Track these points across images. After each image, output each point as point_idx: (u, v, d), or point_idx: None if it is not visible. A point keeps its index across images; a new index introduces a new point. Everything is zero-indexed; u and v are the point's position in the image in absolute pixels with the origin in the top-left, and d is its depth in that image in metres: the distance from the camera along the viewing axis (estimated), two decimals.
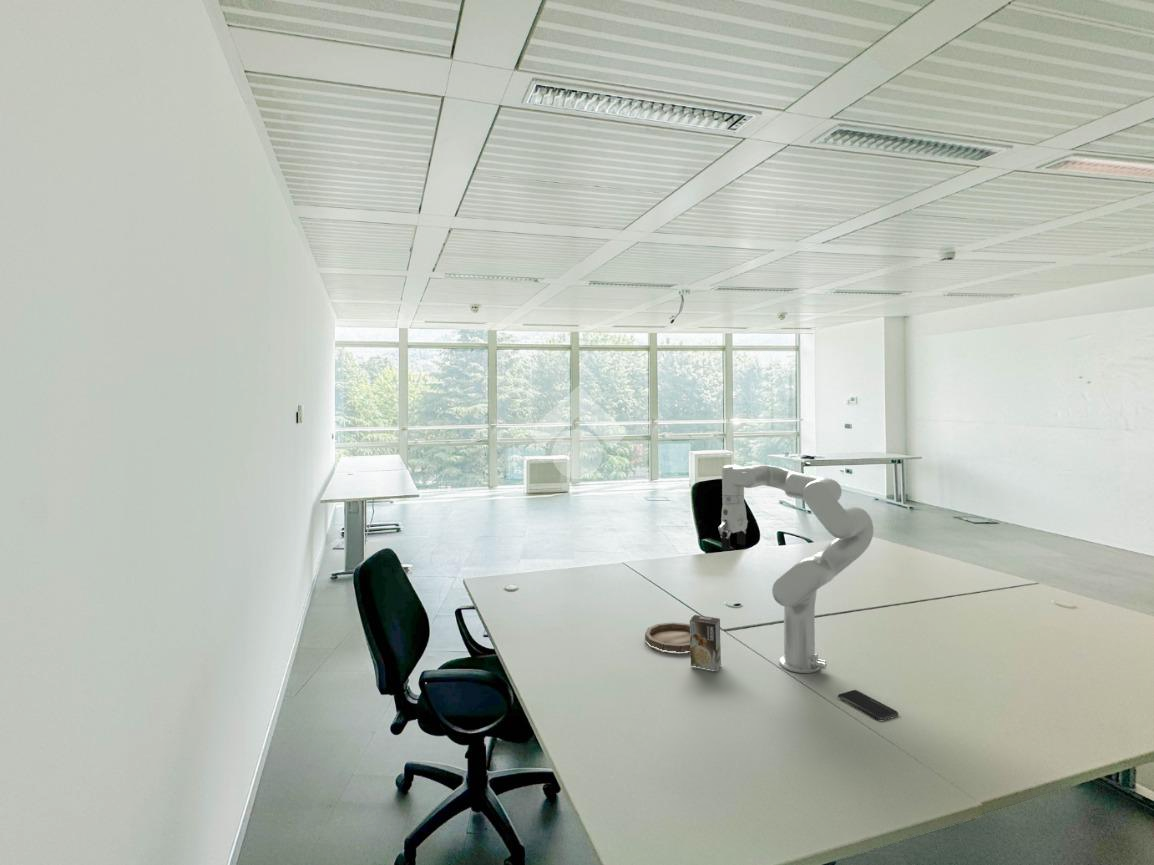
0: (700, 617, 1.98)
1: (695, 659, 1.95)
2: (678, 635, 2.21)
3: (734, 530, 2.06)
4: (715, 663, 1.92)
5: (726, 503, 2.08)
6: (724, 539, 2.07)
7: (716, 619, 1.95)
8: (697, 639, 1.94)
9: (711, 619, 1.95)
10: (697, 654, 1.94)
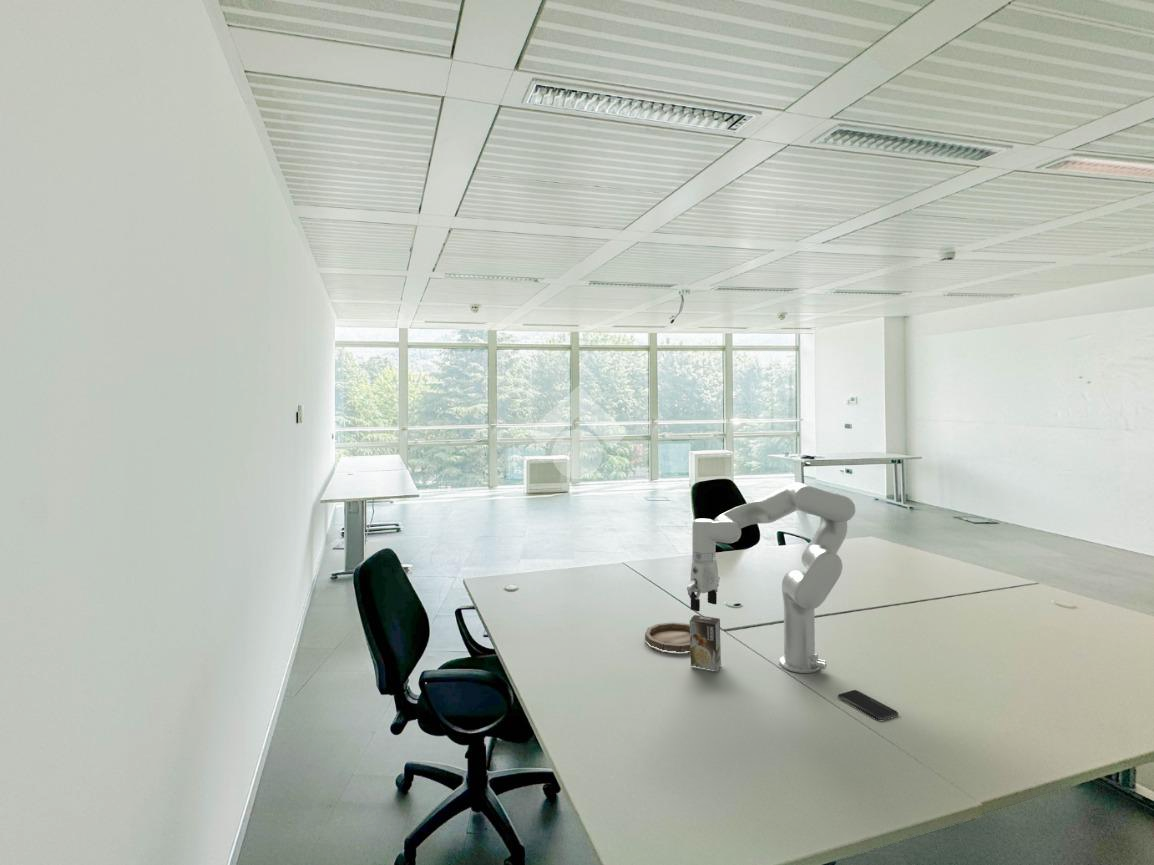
0: (700, 617, 1.98)
1: (695, 659, 1.95)
2: (678, 635, 2.21)
3: (704, 590, 1.91)
4: (715, 663, 1.92)
5: (696, 560, 1.93)
6: (693, 600, 1.91)
7: (716, 619, 1.95)
8: (697, 639, 1.94)
9: (711, 619, 1.95)
10: (697, 655, 1.94)
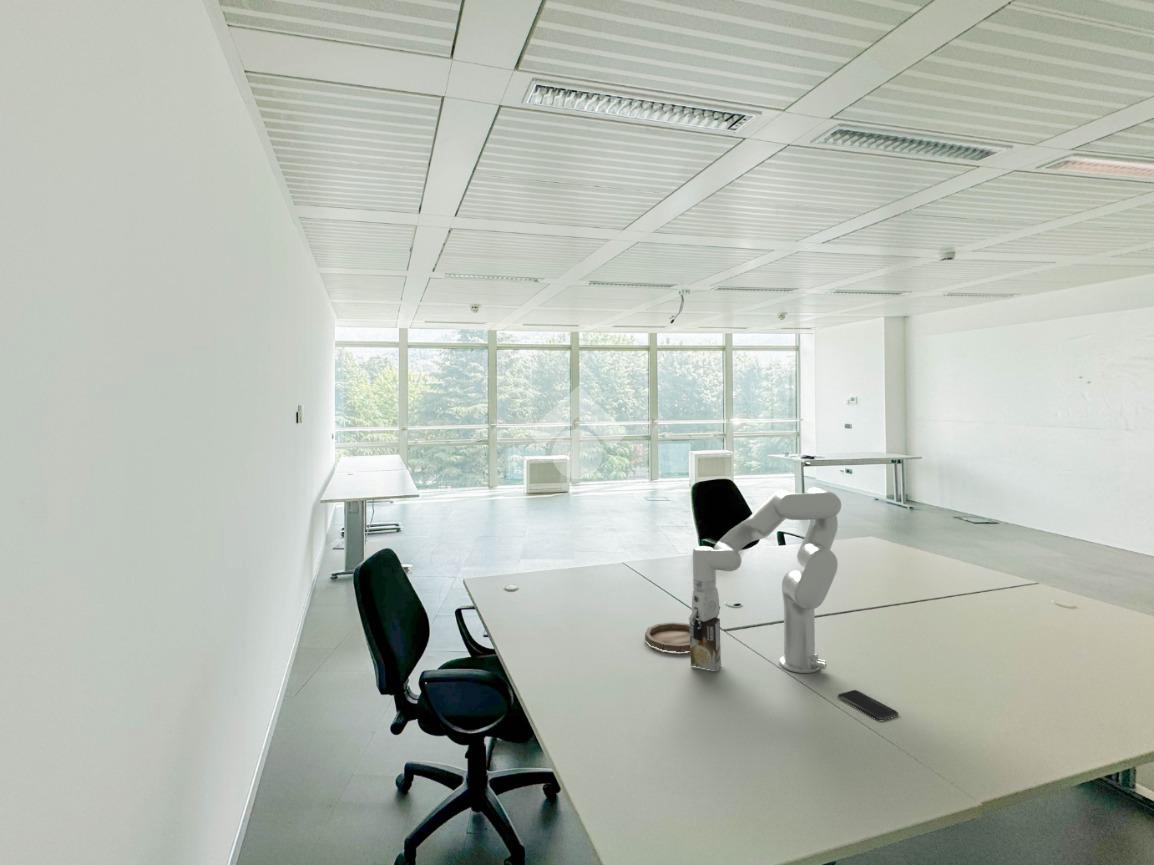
0: None
1: (695, 659, 1.95)
2: (678, 635, 2.21)
3: (705, 619, 1.91)
4: (715, 663, 1.92)
5: (697, 589, 1.93)
6: (696, 629, 1.92)
7: (716, 619, 1.95)
8: None
9: (711, 619, 1.95)
10: (697, 654, 1.94)
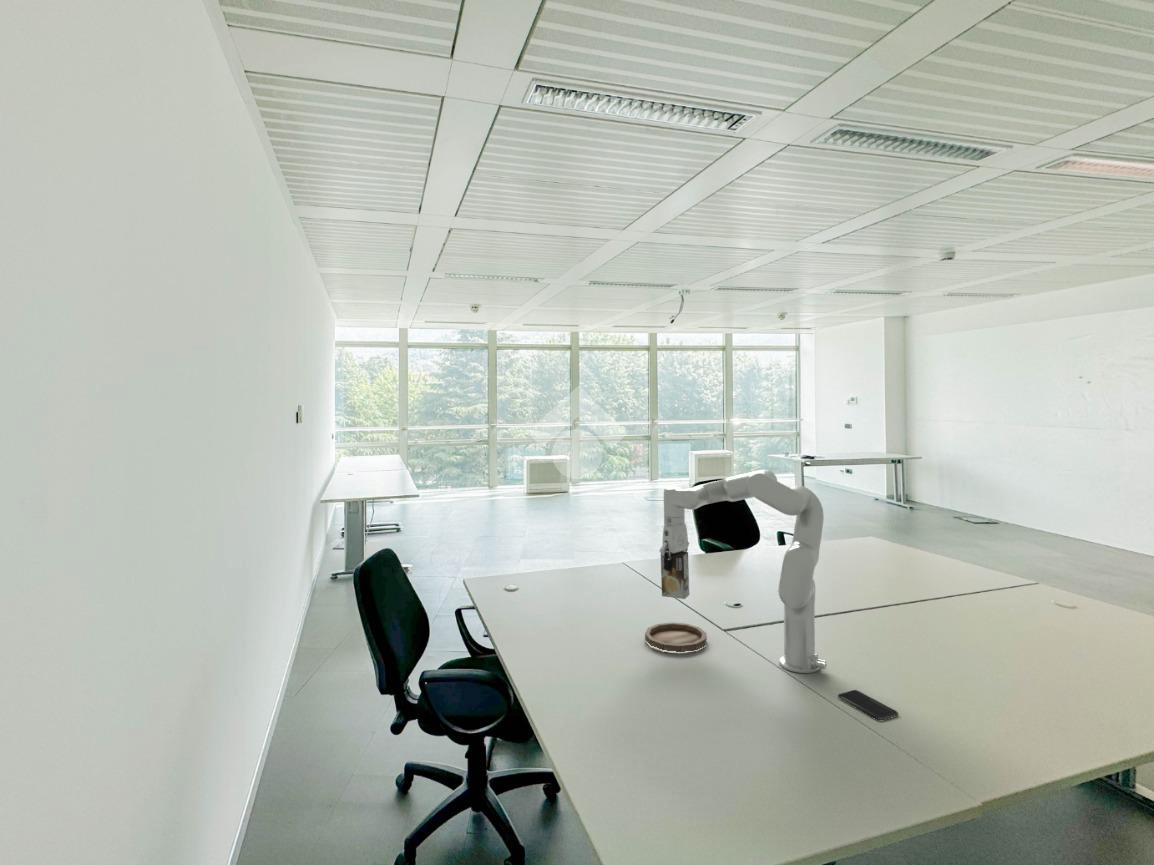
0: None
1: (666, 588, 2.15)
2: (678, 635, 2.21)
3: (674, 551, 2.11)
4: (683, 591, 2.12)
5: (667, 524, 2.13)
6: (666, 560, 2.12)
7: (684, 552, 2.16)
8: (667, 570, 2.14)
9: (680, 552, 2.16)
10: (667, 584, 2.15)
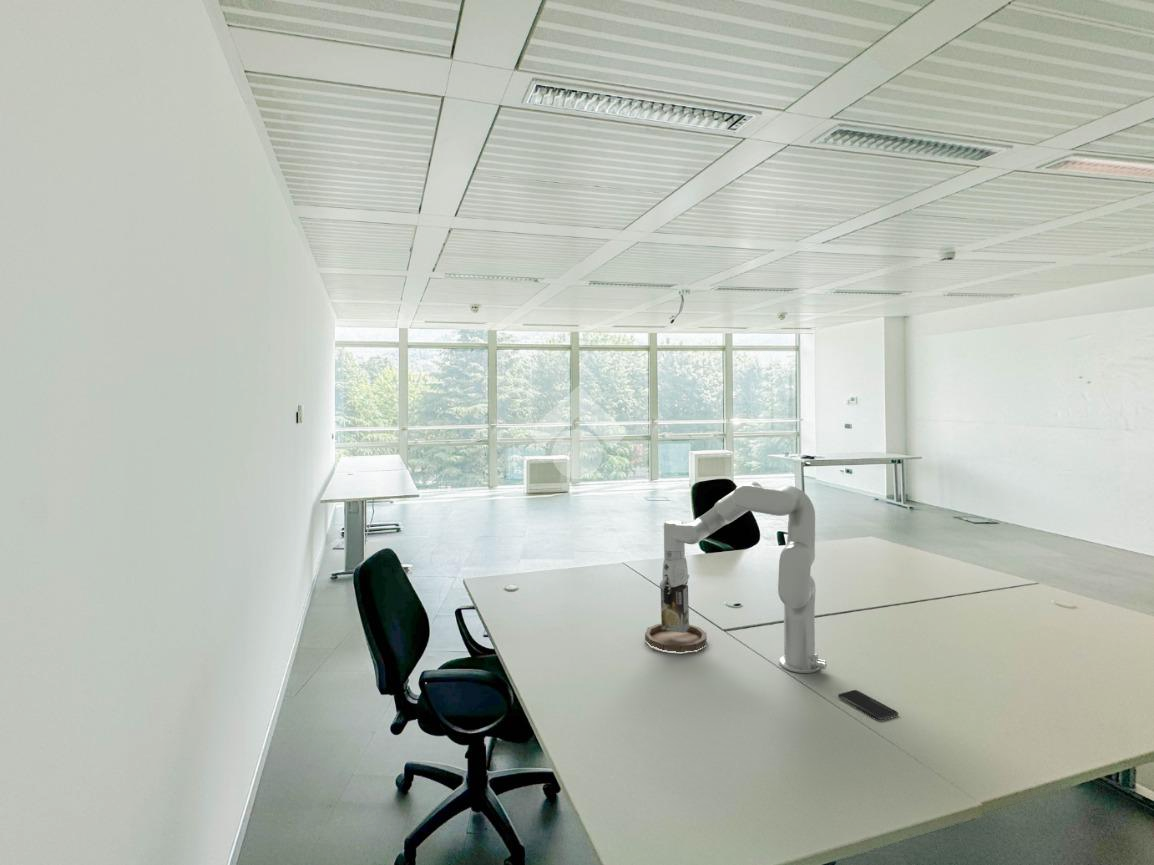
0: None
1: (666, 622, 2.16)
2: (678, 635, 2.21)
3: (674, 585, 2.12)
4: (683, 625, 2.13)
5: (667, 558, 2.14)
6: (666, 594, 2.13)
7: (684, 586, 2.17)
8: None
9: (680, 586, 2.16)
10: (667, 617, 2.16)
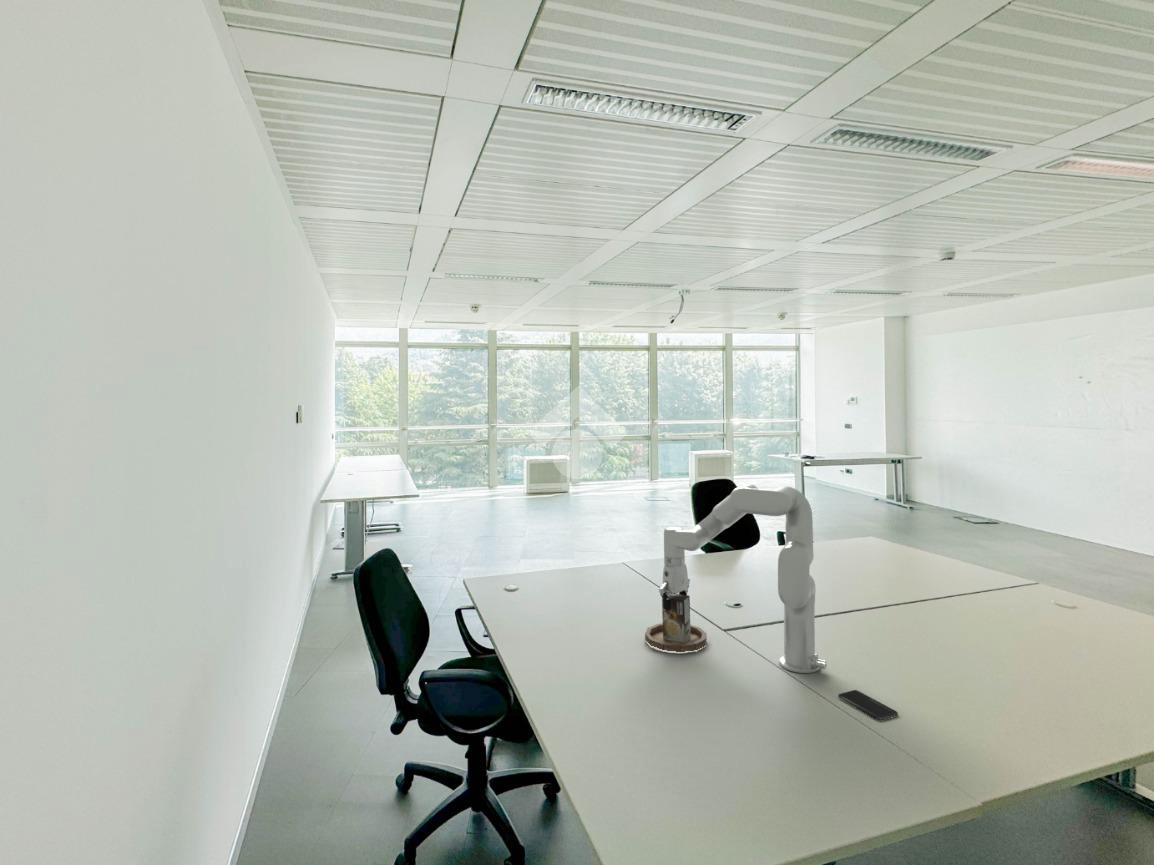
0: (672, 594, 2.19)
1: (667, 632, 2.16)
2: None
3: (674, 591, 2.12)
4: (684, 635, 2.13)
5: (667, 565, 2.14)
6: (665, 600, 2.13)
7: (686, 596, 2.17)
8: (668, 613, 2.16)
9: (681, 596, 2.17)
10: (668, 627, 2.16)
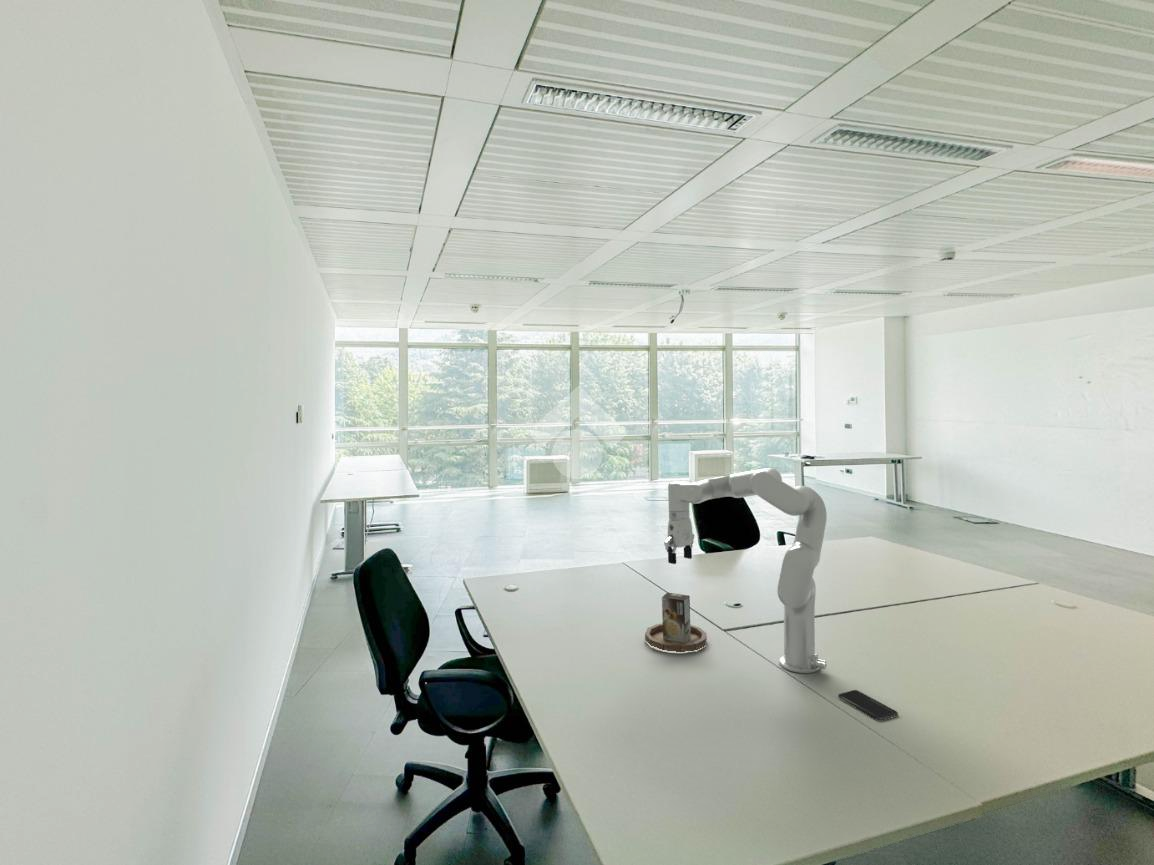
0: (672, 594, 2.19)
1: (667, 632, 2.16)
2: None
3: (680, 545, 2.12)
4: (684, 635, 2.13)
5: (672, 519, 2.14)
6: (670, 554, 2.13)
7: (686, 596, 2.17)
8: (668, 613, 2.16)
9: (681, 596, 2.17)
10: (668, 627, 2.16)
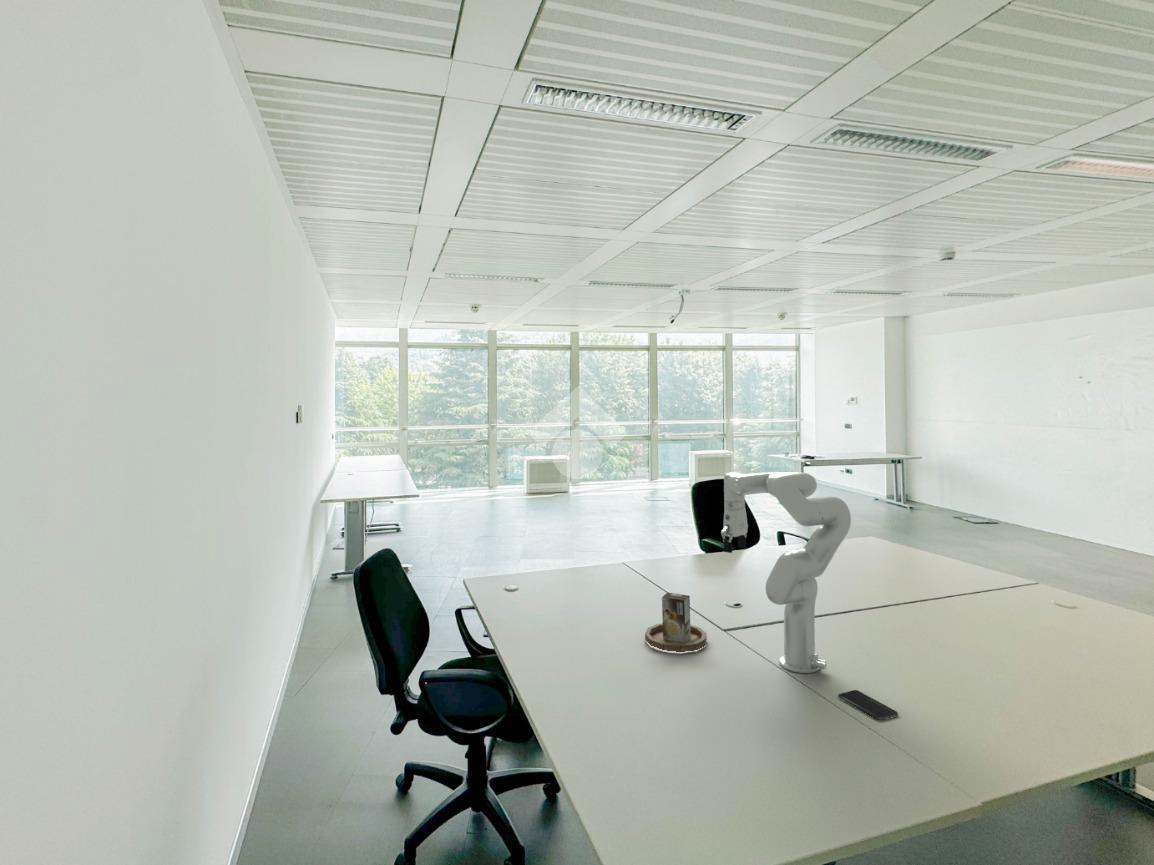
0: (672, 594, 2.19)
1: (667, 632, 2.16)
2: None
3: (736, 534, 2.18)
4: (684, 635, 2.13)
5: (728, 509, 2.20)
6: (726, 543, 2.19)
7: (686, 596, 2.17)
8: (668, 613, 2.16)
9: (681, 596, 2.17)
10: (668, 627, 2.16)
